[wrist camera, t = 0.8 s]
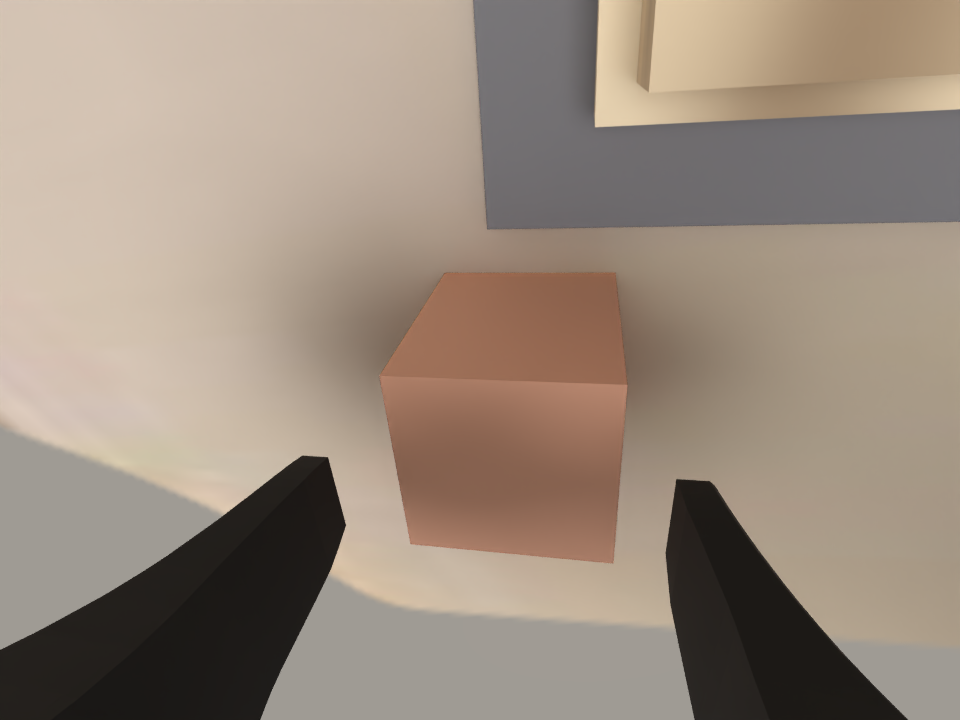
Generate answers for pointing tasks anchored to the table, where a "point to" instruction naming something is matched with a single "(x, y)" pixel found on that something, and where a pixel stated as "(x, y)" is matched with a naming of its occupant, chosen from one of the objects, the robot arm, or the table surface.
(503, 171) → the mat
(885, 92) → the oak slab base
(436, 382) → the terracotta block
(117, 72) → the table surface
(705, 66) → the oak slab top
